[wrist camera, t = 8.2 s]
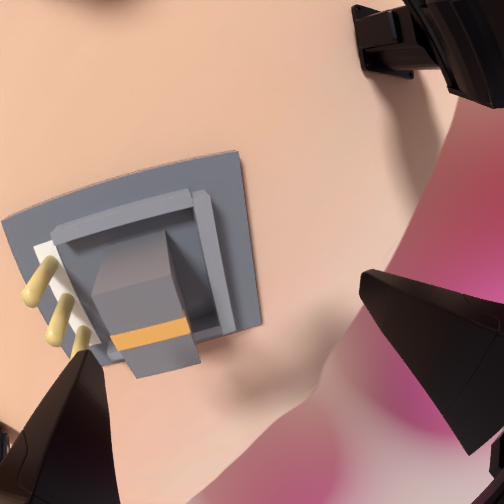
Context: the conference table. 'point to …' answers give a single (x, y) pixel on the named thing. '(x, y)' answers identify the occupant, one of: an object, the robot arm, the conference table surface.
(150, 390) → the conference table surface
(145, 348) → the plug
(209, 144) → the conference table surface
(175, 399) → the conference table surface
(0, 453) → the headphones
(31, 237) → the header socket
